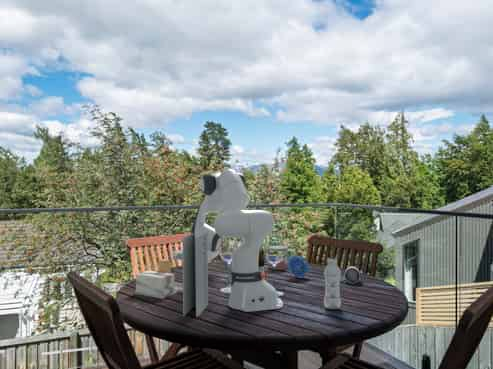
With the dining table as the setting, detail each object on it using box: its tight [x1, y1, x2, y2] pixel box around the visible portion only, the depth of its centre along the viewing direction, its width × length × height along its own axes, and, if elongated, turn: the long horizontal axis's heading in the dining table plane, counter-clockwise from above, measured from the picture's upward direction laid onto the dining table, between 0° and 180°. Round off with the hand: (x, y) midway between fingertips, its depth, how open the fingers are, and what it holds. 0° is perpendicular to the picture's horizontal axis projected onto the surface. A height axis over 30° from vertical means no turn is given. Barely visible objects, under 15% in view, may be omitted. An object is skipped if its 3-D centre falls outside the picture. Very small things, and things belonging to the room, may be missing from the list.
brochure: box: [181, 233, 209, 318], centre depth 160 cm, size 14×6×30 cm, turn 168°
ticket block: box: [134, 270, 183, 300], centre depth 191 cm, size 22×17×9 cm
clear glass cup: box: [267, 245, 289, 270], centre depth 239 cm, size 11×11×12 cm
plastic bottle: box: [323, 257, 342, 310], centre depth 161 cm, size 6×7×20 cm
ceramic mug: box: [340, 265, 361, 284], centre depth 204 cm, size 11×8×8 cm
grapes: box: [287, 254, 310, 279], centre depth 211 cm, size 12×7×12 cm, turn 85°
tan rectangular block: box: [158, 258, 172, 274], centre depth 191 cm, size 4×4×13 cm
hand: (181, 259), depth 201 cm, fingers open, 8 cm apart
